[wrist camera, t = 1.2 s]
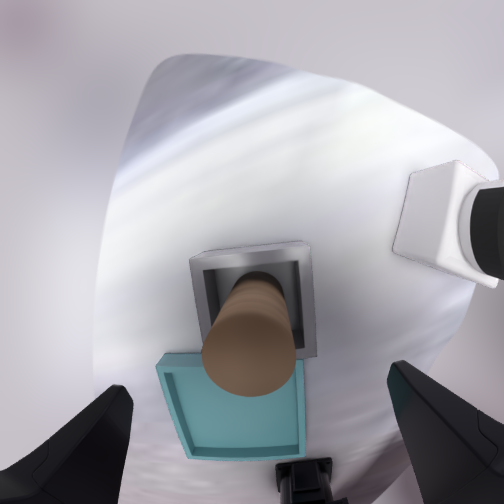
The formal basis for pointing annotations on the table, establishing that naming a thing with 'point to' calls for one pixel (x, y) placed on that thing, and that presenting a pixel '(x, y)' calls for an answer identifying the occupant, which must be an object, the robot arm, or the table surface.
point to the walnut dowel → (251, 339)
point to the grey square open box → (266, 260)
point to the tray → (232, 414)
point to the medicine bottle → (454, 223)
